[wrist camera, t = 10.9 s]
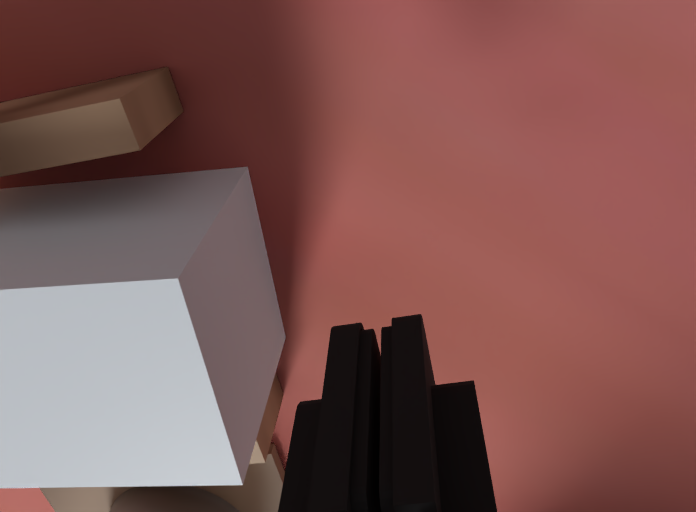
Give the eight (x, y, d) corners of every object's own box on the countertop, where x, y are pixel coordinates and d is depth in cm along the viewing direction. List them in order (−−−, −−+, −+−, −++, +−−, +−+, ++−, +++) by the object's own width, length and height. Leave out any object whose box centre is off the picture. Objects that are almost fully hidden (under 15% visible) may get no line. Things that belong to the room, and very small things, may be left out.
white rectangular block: (248, 165, 17) (177, 278, 12) (286, 334, 20) (242, 485, 15) (-8, 188, 18) (-174, 300, 13) (63, 345, 21) (-50, 489, 16)
